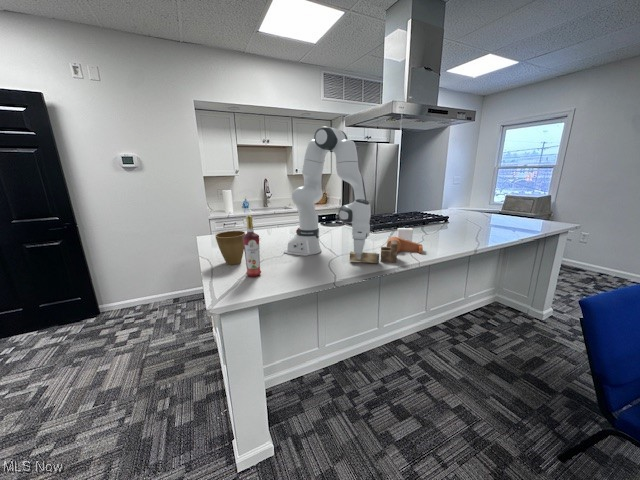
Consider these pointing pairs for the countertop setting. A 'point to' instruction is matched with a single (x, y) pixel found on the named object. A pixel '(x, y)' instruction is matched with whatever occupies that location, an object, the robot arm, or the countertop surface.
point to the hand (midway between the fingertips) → (359, 257)
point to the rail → (365, 257)
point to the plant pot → (231, 246)
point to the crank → (406, 245)
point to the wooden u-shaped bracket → (389, 252)
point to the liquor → (251, 249)
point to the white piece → (405, 233)
